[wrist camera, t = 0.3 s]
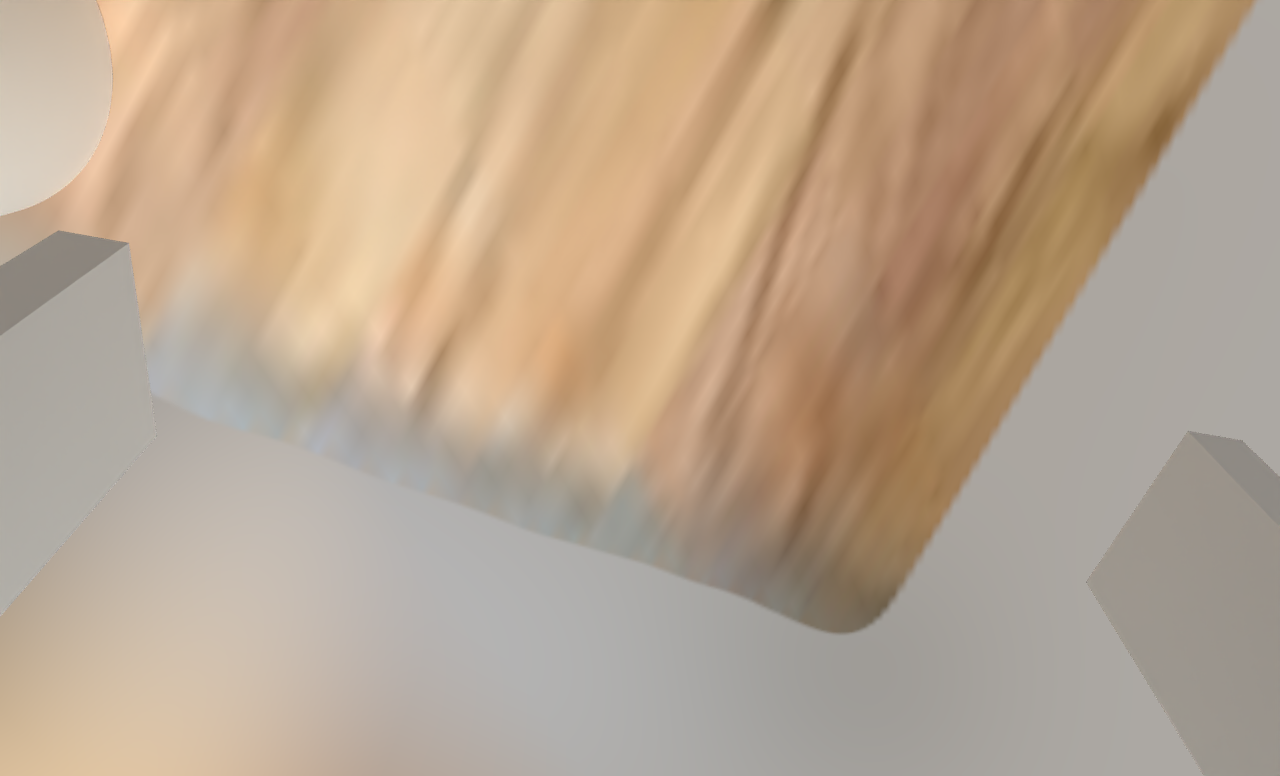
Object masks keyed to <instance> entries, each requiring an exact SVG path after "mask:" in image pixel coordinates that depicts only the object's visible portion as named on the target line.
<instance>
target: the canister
mask: <svg viewBox="0 0 1280 776" xmlns="http://www.w3.org/2000/svg"><path fill="white" fill-rule="evenodd" d="M112 86H113V73H112V59H111V52H110V46H109V41H108V36H107V32H106V28H105V25H104V21H103V18H102V15H101V12H100V9H99V7H98V4H97V2H96V0H0V216H2V215H6V214H9V213H13V212H16V211H20V210H23V209H26V208H29V207H31V206H34V205H36V204H38V203H40V202H42V201H44V200H46V199H48V198H50V197H51V196H53V195H55V194H56V193H58V192H59V191H60V190H62V189H63V188H64V187H66V186H67V185H68V184H69V183H70V182H71V181H72V180H73V179H74V178H75V177H76V176H77V175H78V174H79V173H80V172H81V171H82V170H83V168H84V167H85V166H86V165H87V163H88V162H89V160H90V159H91V157H92V156H93V154H94V152H95V150H96V149H97V147H98V145H99V143H100V140H101V138H102V136H103V133H104V130H105V127H106V124H107V120H108V116H109V112H110V106H111V99H112Z"/></svg>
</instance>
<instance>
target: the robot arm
mask: <svg viewBox="0 0 1280 776" xmlns="http://www.w3.org/2000/svg"><path fill="white" fill-rule="evenodd" d="M156 437H157V433H156V426H155V420H154V413H153V407H152V399H151V392H150V385H149V378H148V371H147V364H146V357H145V351H144V344H143V337H142V330H141V323H140V316H139V309H138V302H137V295H136V289H135V282H134V275H133V268H132V261H131V254H130V247H129V243H126V242H120V241H115V240H109V239H104V238H98V237H92V236H87V235H81V234H75V233H70V232H64V231H57V232H55V233H54V234H52V235H50V236H49V237H47V238H46V239H44V240H42V241H41V242H39V243H37V244H36V245H34V246H33V247H31V248H29V249H28V250H26V251H24V252H23V253H21V254H20V255H18V256H16V257H15V258H13V259H11V260H10V261H8V262H6V263H5V264H3V265H2V266H0V616H1V615H2V614H3V613H4V612H5V610H6V609H7V608H8V607H9V606H10V605H11V604H12V602H13V601H14V600H15V599H16V598H17V597H18V595H19V594H20V593H21V592H22V591H23V590H24V589H25V587H26V586H27V585H28V584H29V583H30V582H31V580H32V579H33V578H34V577H35V576H36V575H37V574H38V572H39V571H40V570H41V569H42V568H43V567H44V566H45V564H46V563H47V562H48V561H49V560H50V559H51V557H52V556H53V555H54V554H55V553H56V552H57V551H58V549H59V548H60V547H61V546H62V545H63V543H64V542H65V541H66V540H67V539H68V538H69V537H70V535H71V534H72V533H73V532H74V531H75V530H76V529H77V527H78V526H79V525H80V524H81V523H82V522H83V520H84V519H85V518H86V517H87V516H88V515H89V514H90V512H91V511H92V510H93V509H94V508H95V507H96V506H97V504H98V503H99V502H100V501H101V500H102V499H103V498H104V496H105V495H106V494H107V493H108V492H109V491H110V489H111V488H112V487H113V486H114V485H115V483H117V481H118V480H119V479H120V478H121V477H122V476H123V474H124V473H125V472H126V471H127V470H128V468H129V467H130V466H131V465H132V464H133V463H134V462H135V461H136V460H137V458H138V457H139V456H140V455H141V454H142V453H143V451H144V450H145V449H146V448H147V447H148V446H149V444H150V443H151V442H152V441H153V440H154V439H155V438H156ZM1086 583H1087V584H1088V586H1089V587H1090V589H1091V591H1092V592H1093V594H1094V596H1095V598H1096V599H1097V601H1098V602H1099V604H1100V606H1101V607H1102V609H1103V611H1104V612H1105V614H1106V616H1107V617H1108V619H1109V621H1110V622H1111V624H1112V625H1113V627H1114V629H1115V630H1116V632H1117V634H1118V635H1119V637H1120V639H1121V640H1122V642H1123V644H1124V645H1125V647H1126V649H1127V650H1128V652H1129V653H1130V655H1131V657H1132V658H1133V660H1134V662H1135V663H1136V665H1137V667H1138V668H1139V670H1140V671H1141V673H1142V675H1143V676H1144V678H1145V680H1146V681H1147V683H1148V685H1149V686H1150V688H1151V690H1152V691H1153V693H1154V694H1155V696H1156V698H1157V700H1158V701H1159V703H1160V704H1161V706H1162V708H1163V709H1164V711H1165V713H1166V714H1167V716H1168V717H1169V719H1170V721H1171V723H1172V724H1173V726H1174V727H1175V729H1176V731H1177V732H1178V734H1179V735H1180V737H1181V739H1182V740H1183V742H1184V744H1185V745H1186V747H1187V749H1188V750H1189V752H1190V754H1191V755H1192V757H1193V759H1194V760H1195V762H1196V764H1197V765H1198V767H1199V769H1200V770H1201V772H1202V774H1203V775H1204V776H1280V477H1279V476H1278V475H1277V474H1276V473H1275V472H1274V471H1273V470H1272V469H1271V468H1270V467H1269V466H1268V465H1267V464H1266V463H1265V462H1264V461H1263V460H1262V459H1261V458H1260V457H1258V455H1257V454H1256V453H1254V452H1253V451H1252V450H1251V449H1250V448H1249V447H1248V446H1247V445H1246V444H1245V443H1244V442H1243V441H1241V440H1235V439H1230V438H1225V437H1219V436H1213V435H1208V434H1202V433H1196V432H1191V431H1188V432H1187V433H1186V435H1185V436H1184V438H1183V439H1182V441H1181V442H1180V443H1179V445H1178V446H1177V448H1176V449H1175V451H1174V452H1173V454H1172V455H1171V457H1170V458H1169V460H1168V461H1167V463H1166V464H1165V466H1164V467H1163V469H1162V470H1161V472H1160V473H1159V475H1158V476H1157V478H1156V479H1155V480H1154V482H1153V483H1152V485H1151V486H1150V488H1149V489H1148V491H1147V492H1146V494H1145V495H1144V497H1143V498H1142V500H1141V501H1140V503H1139V504H1138V506H1137V507H1136V509H1135V510H1134V512H1133V513H1132V515H1131V516H1130V518H1129V519H1128V521H1127V522H1126V524H1125V525H1124V526H1123V528H1122V529H1121V531H1120V532H1119V534H1118V535H1117V537H1116V538H1115V540H1114V541H1113V543H1112V544H1111V546H1110V547H1109V549H1108V550H1107V552H1106V553H1105V555H1104V556H1103V558H1102V559H1101V561H1100V562H1099V564H1098V565H1097V566H1096V568H1095V569H1094V571H1093V572H1092V574H1091V575H1090V577H1089V578H1088V580H1087V582H1086Z"/></svg>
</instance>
